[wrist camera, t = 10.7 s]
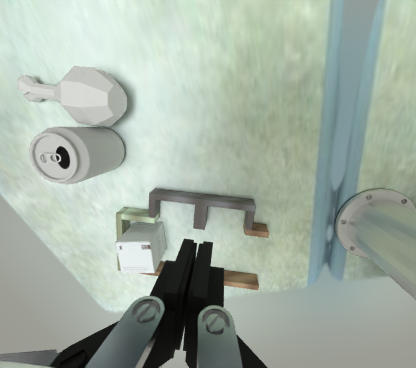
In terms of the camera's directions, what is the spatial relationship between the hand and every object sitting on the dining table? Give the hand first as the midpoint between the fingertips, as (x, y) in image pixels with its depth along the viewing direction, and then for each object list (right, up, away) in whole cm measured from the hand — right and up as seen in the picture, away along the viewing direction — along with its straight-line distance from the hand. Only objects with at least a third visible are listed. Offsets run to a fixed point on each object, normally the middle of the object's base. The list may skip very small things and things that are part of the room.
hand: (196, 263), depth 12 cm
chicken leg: (-21, +19, +23) cm, 36 cm away
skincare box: (-11, -6, +29) cm, 31 cm away
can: (-17, +11, +25) cm, 32 cm away
